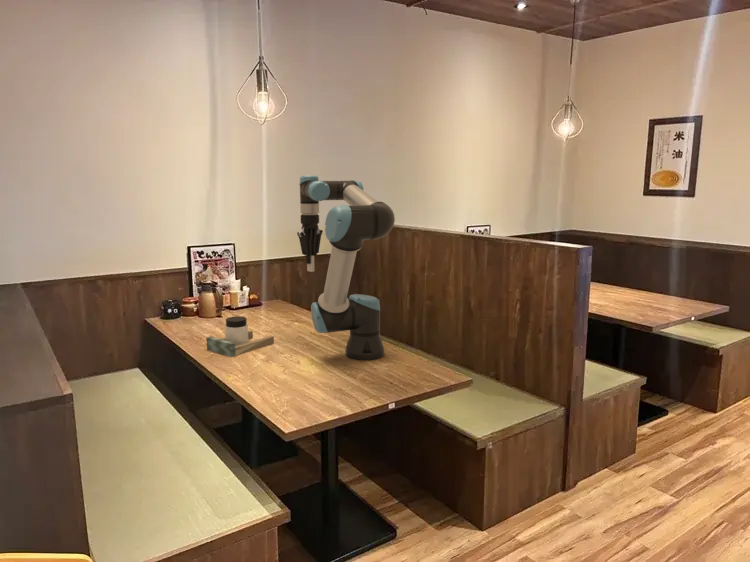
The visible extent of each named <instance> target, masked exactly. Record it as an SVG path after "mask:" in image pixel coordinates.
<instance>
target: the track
mask: <svg viewBox="0 0 750 562" xmlns="http://www.w3.org/2000/svg"><path fill="white" fill-rule="evenodd" d="M274 337H275V336H273V335H268V336H264V337H261V338H259V339H254V340H252V339H253V338H254V331H253V330H249V329H248V340H250V339H251V341H249V342H247V343H244V344H241V345H237V346H235V343H233V342H229V341H226V339H225V336H224V337H221V338H218V337H215V336H207V337H206V339H205V340H206V350H208V351H210V352H214V353H217V354H221V355H224V356H227V357H230V358H231V357H232V358H233V357H234V356H238V355H241V354H245V353H248V352H251V350H252V351H254V349H255V350H258V349H262V348H263V347H267V345H268V346H271V345H274V344H275V341H274V339H275V338H274ZM257 348H258V349H257Z"/></svg>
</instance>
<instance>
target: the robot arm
mask: <svg viewBox="0 0 750 562" xmlns="http://www.w3.org/2000/svg"><path fill="white" fill-rule="evenodd" d="M298 186H299V200H300V202H299V203H300V204H299V205H300V224H301V225H302V226H301V230H300V231H298V232H297V233H296V234H297V236H298V239H299V245H300V250H301V253H302V255H304V256H306V257H305V259H306V260H305V261H306V267H307V268H306V270H307V272H310V273H311V272H312V273H313V272H315V264H316V256H317V255H318V254H319V252H320V246H321V239H322V235H323V232H325V233H324V234H325V236H326V238H327V241H329V244H330V245H331V251H330V255H329V256H330V257H329V263H328V266H327V267H328V268H327V273H326V277H325V283H324V288H323V289H324V290H323V293H320V295H319V297H318V299H317V301H314V302H312V303H311V305H310V315H311V321H312V323H313V327H314V329H315V331H316V332H317V333H319V334H329V333H330V334H331V333H337V332H346V331H349V336H348V340H347V343H346V347H345V356H346V357H348V358H350V359H353V360H359V361H371V360H378V359H380V358H382V357H384V355H385V347H384V345H383V344H384V343H383V341H382V337H381V304H380V303H381V302H380V299H378V298H377V297H376V296H372V295H368V294H360V293H359V294H358V293H353V294H350V295H349V297H348V294H349V288H350V283H351V281H352V280H351V279H352V276H353V270H354V265H355V262H356V257H357V252H358V251H359V250H361V249H362V247H363V246H364V241H370V240H372V241H373V240H378V239H382V238H385V236H387V235H388V234H389V233H390V232H391V231H392V229H393V228H394V225H395V221H396V218H395V213H394V211H393V209H392V207H390V206H389V205H388V204H387V203H385V202H383V201H380V200H379V201H378V200H376V199H375V198H374V197H372V196H371V195H370V194H369V193H368V192H366V191H365V190H364V186H363V183H362V182H361V181H359V180H319V176H318V175H301V176H300V177H299V185H298ZM323 201H345V202H346V203H347V204H342V205H336V206H333V207H331V208H330V209H329V211H328V212H327V215H326V217H325V221H324V222H325V223H324V226H325V228H324V231H323V230H322V229H320V228H319V225H318V224H320V215H319V213H320V202H323Z"/></svg>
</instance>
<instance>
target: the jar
mask: <svg viewBox="0 0 750 562" xmlns="http://www.w3.org/2000/svg"><path fill="white" fill-rule="evenodd" d="M247 320H248V319H247V317H246V316H239V315H237V316H229V317H227V318H226V319H225V326H224V335H225V336H224V337H225V339H226V341H229V342H233V343H235V346H237V345H241V344H244V343H247V342H250V341H249V339H248V331H249V325H248V324H247V323H248V321H247Z"/></svg>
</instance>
